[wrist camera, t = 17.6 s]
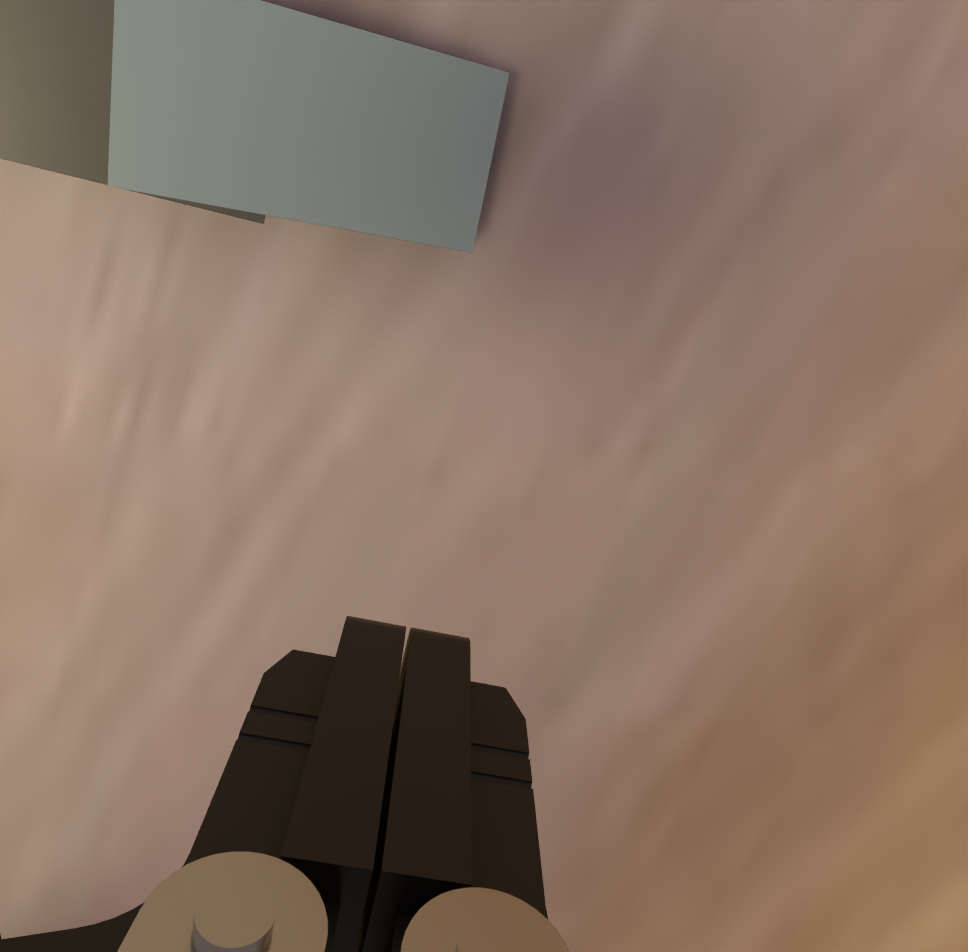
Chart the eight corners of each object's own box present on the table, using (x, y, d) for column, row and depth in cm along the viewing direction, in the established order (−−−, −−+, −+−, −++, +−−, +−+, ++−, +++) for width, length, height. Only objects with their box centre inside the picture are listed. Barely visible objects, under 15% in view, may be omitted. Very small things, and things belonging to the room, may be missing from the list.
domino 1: (298, 43, 22) (-155, -120, 17) (263, 223, 24) (-155, 119, 19) (287, 42, 23) (-130, -106, 19) (255, 211, 25) (-131, 113, 21)
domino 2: (509, 72, 22) (116, -42, 18) (472, 252, 24) (107, 185, 20) (484, 73, 24) (119, -32, 20) (451, 241, 25) (111, 177, 21)
